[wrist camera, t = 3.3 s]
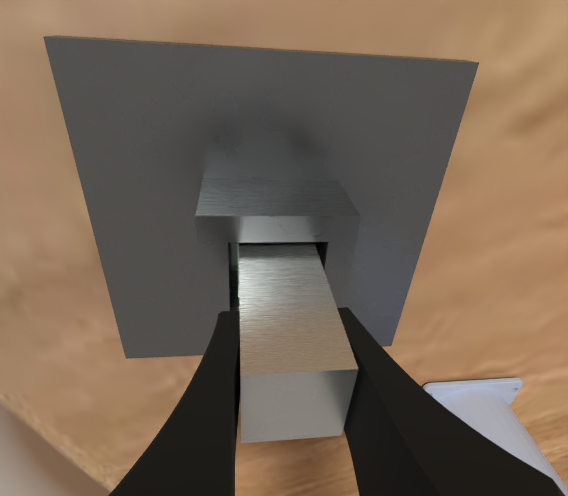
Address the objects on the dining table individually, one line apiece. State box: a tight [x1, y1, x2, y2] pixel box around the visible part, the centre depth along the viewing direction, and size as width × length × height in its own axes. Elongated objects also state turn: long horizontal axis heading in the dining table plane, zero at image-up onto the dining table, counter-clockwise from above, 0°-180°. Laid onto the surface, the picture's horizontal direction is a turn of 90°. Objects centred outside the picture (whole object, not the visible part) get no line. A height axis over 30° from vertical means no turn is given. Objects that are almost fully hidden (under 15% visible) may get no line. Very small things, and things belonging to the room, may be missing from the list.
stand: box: [44, 36, 479, 359], centre depth 16 cm, size 16×16×4 cm
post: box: [237, 242, 358, 443], centre depth 13 cm, size 3×3×8 cm
